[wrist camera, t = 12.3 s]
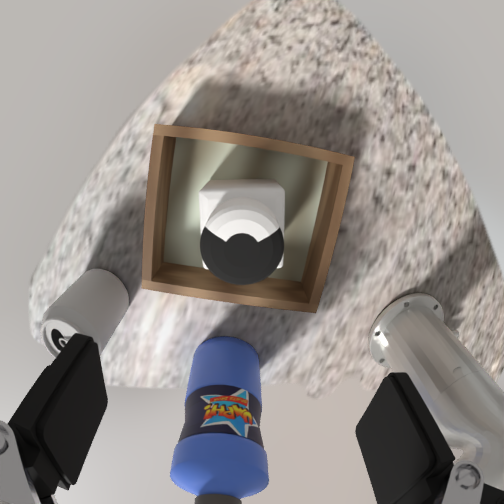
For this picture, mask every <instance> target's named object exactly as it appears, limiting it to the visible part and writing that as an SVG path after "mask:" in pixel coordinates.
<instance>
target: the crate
mask: <svg viewBox="0 0 504 504" xmlns="http://www.w3.org/2000/svg"><path fill="white" fill-rule="evenodd" d="M354 159H355V157H353V156H349V155H345V154H341V153H337V152H333V151H329V150H324V149H320V148H315V147H311V146H306V145H301V144H296V143H291V142H286V141H281V140H276V139H270V138H264V137H259V136H252V135H246V134H240V133H233V132H226V131H218V130H210V129H202V128H193V127H183V126H173V125H161V124H155V126H154V133H153V140H152V147H151V155H150V163H149V172H148V182H147V192H146V204H145V218H144V234H143V255H142V289H148V290H154V291H159V292H165V293H171V294H177V295H183V296H190V297H196V298H202V299H209V300H216V301H223V302H230V303H237V304H244V305H252V306H259V307H267V308H275V309H284V310H292V311H301V312H310V313H316V312H317V308H318V305H319V302H320V298H321V295H322V291H323V288H324V284H325V281H326V277H327V274H328V270H329V266H330V262H331V259H332V255H333V251H334V247H335V243H336V239H337V235H338V231H339V227H340V223H341V219H342V215H343V210H344V206H345V202H346V197H347V193H348V188H349V183H350V179H351V174H352V169H353V164H354ZM230 179H275V180H276V181H277V182H278V183H279V184H280V185H281V187H282V188H283V189H284V191H285V216H284V258H283V266H282V267H281V268H276V270H275V271H274V272H273V273H272V274H271V275H270V276H268V277H267V278H265V279H264V280H262V281H260V282H257V283H254V284H249V285H235V284H230V283H227V282H225V281H223V280H221V279H219V278H217V277H216V276H215V275H214V274H212V273H211V272H210V270H209V269H205V268H204V267H203V261H202V256H201V252H200V238H201V230H200V212H199V191H200V190H201V189H202V188H203V187H204V186H205V185H206V183H207V182H208V181H210V180H230Z"/></svg>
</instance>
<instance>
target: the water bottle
mask: <svg viewBox="0 0 504 504" xmlns="http://www.w3.org/2000/svg"><path fill="white" fill-rule="evenodd" d="M261 412H262V401H261V383H260V368H259V358H258V355H257V353H256V351H255V350H254V348H253V347H252V346H251V345H249V344H248V343H247V342H245V341H243V340H241V339H238V338H234V337H228V336H221V337H214V338H211V339H208V340H207V341H205V342H203V343H202V344H201V345H199V347H198V348H197V349H196V351H195V354H194V358H193V363H192V367H191V372H190V377H189V382H188V388H187V393H186V399H185V424H184V426H183V429H182V432H181V435H180V438H179V441H178V444H177V445H176V447H175V449H174V455H173V460H172V466H171V472H170V477H171V479H172V481H173V482H174V483H175V484H176V485H177V486H179V487H180V488H182V489H184V490H185V491H187V492H190V493H192V494H195V495H196V496H197V497H196V498H195V504H242V502H241V500H240V499H241V498H244V497H247V496H251V495H254V494H257V493H259V492H261V491H262V490H264V489H265V488H266V487H267V485H268V482H269V478H268V463H267V454H266V451H265V450H264V446H263V442H262V437H261V432H260V428H259V426H260V417H261Z"/></svg>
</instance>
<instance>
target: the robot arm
mask: <svg viewBox="0 0 504 504" xmlns="http://www.w3.org/2000/svg"><path fill="white" fill-rule="evenodd" d="M458 337H459V332H458V331H457V330H450V329H449V328H448V327H447V326H446V325H445V324H444V312H443V308H442V307H441V305H440V303H439V302H438V301H437V300H436V299H435V298H434V297H432V296H431V295H428V294H425V293H414V294H410V295H406V296H404V297H402V298H400V299H398V300H396V301H395V302H393V303H392V304H390V305H389V306H388V307H387V308H386V309H385V310H384V311H383V312H382V313H381V314H380V315H379V316H378V318H377V319H376V321H375V322H374V324H373V326H372V328H371V331H370V334H369V338H368V348H369V352H370V354H371V356H372V358H373V359H374V361H375V362H376V363H378V364H379V365H381V366H383V367H388V368H391V369H392V371H393V372H392V373H390V374H389V375H388V376H387V377H385V378H384V379H383V381H382V383H381V384H380V386H379V388H378V390H377V392H376V394H375V395H374V397H373V399H372V401H371V403H370V404H369V406H368V408H367V410H366V411H365V413H364V415H363V416H362V418H361V419H360V421H359V423H358V424H357V426H356V437H357V440H358V443H359V446H360V449H361V452H362V455H363V458H364V462H365V465H366V468H367V471H368V474H369V478H370V481H371V484H372V487H373V491H374V494H375V497H376V501H377V504H504V392H503V391H502V389H501V388H500V387H499V386H498V385H497V384H496V382H495V381H494V380H493V379H492V378H491V376H490V375H489V374H488V373H487V372H486V370H485V369H484V368H483V367H482V366H481V365H480V363H479V362H478V361H477V360H476V359H475V357H474V356H473V355H472V354H471V353H470V352H469V351H468V349H467V348H466V347H465V346H464V345H463V344H462V343H461V342H460V340H459V339H458ZM107 400H108V399H107V394H106V389H105V383H104V378H103V372H102V367H101V360H100V354H99V347H98V344H97V343H96V342H94V340H93V338H92V337H91V336H87V335H83V334H80V333H74V334H73V336H72V337H71V338H70V339H69V341H68V342H67V343H66V345H65V346H64V347H63V349H62V350H61V352H60V353H59V354H58V356H57V357H56V358H55V360H54V361H53V363H52V364H51V365H49V366H47V367H46V368H45V369H44V371H43V372H42V373H41V375H40V376H39V378H38V379H37V380H36V382H35V383H34V385H33V386H32V388H31V389H30V391H29V392H28V393H27V395H26V396H25V398H24V399H23V401H22V402H21V404H20V406H19V407H18V408H17V410H16V412H15V413H14V415H13V416H12V418H11V419H10V421H9V423H8V424H6V423H5V422H3V421H0V504H58V503H57V501H56V499H55V496H54V494H55V491H56V488H57V486H59V487H61V488H64V489H66V490H69V488H70V485H71V484H72V485H74V484H76V482H77V479H78V477H79V475H80V472H81V469H82V466H83V464H84V461H85V459H86V456H87V454H88V451H89V449H90V446H91V444H92V441H93V439H94V436H95V434H96V432H97V429H98V427H99V424H100V422H101V420H102V417H103V415H104V412H105V410H106V407H107V403H108V401H107ZM450 448H452V449H461V450H463V455H462V456H461V457H460V458H459V459H458V460H457V461H455V462H454V463H453V461H454V460H455V457H454V455H453V453H452V451H451V449H450Z"/></svg>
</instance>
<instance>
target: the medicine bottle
mask: <svg viewBox="0 0 504 504" xmlns="http://www.w3.org/2000/svg"><path fill="white" fill-rule="evenodd" d="M199 212H200V230H201V238H200V252H201V256H202V261H203V267H204V268H205V269H209V270H210V272H211V273H212V274H214V275H215V276H216V277H217V278H219V279H221V280H223V281H225V282H227V283H230V284H235V285H249V284H254V283H257V282H260V281H262V280H264V279H265V278H267V277H268V276H270V275H271V274H272V273H273V272H274V271H275V270H276V268H281V267H282V266H283V258H284V216H285V191H284V189H283V188H282V187H281V185H280V184H279V183H278V182H277V181H276V180H275V179H230V180H210V181H208V182H207V183H206V185H205V186H204V187H203V188H202V189H201V190H200V191H199Z"/></svg>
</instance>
